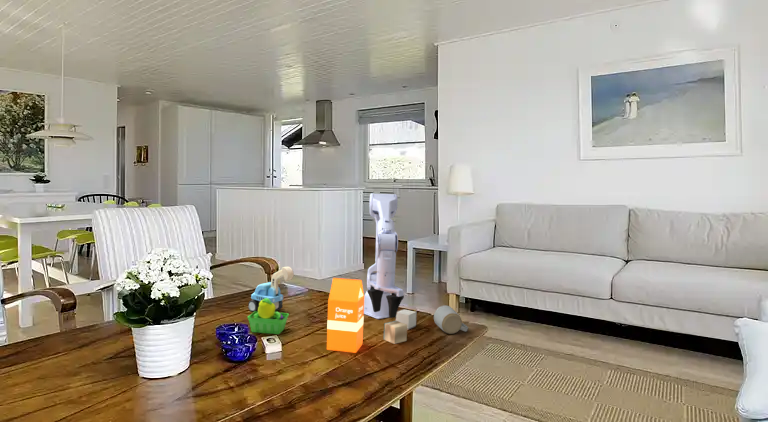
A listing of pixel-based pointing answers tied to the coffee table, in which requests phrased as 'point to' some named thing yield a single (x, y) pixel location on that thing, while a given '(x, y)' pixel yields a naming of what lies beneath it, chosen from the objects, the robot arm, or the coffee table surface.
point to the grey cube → (407, 318)
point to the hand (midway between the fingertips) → (384, 314)
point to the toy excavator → (271, 290)
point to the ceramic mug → (448, 320)
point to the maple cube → (395, 332)
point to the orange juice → (345, 315)
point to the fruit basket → (267, 319)
